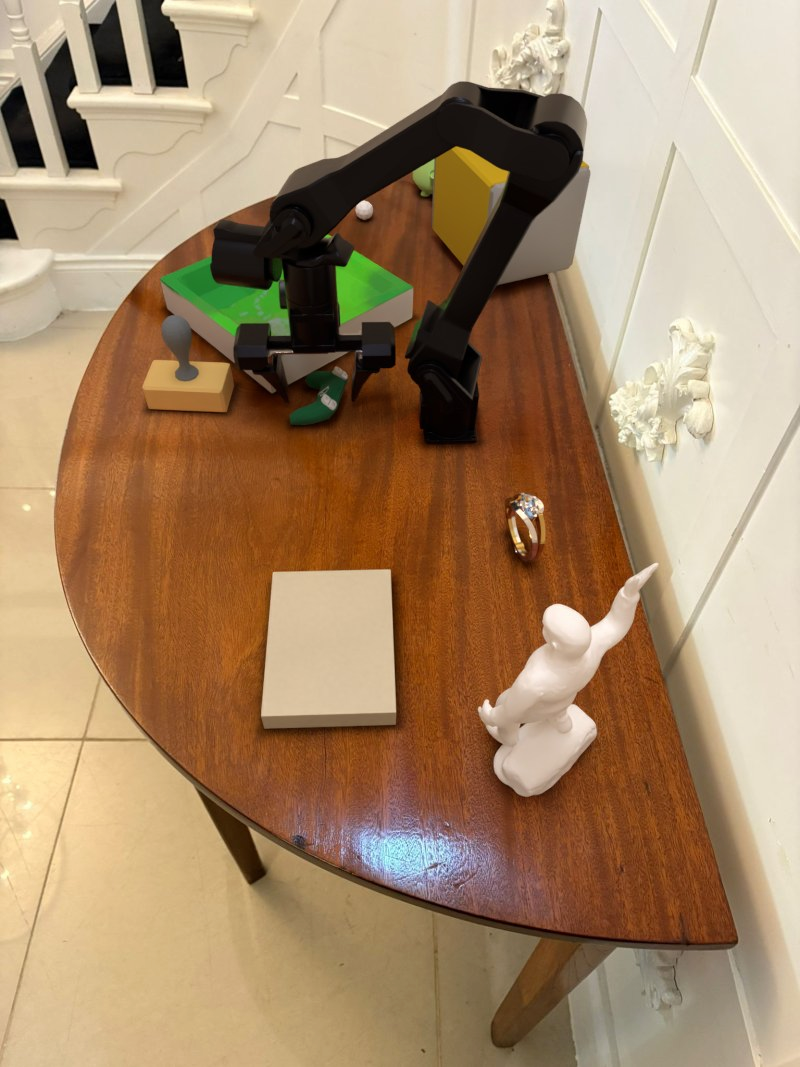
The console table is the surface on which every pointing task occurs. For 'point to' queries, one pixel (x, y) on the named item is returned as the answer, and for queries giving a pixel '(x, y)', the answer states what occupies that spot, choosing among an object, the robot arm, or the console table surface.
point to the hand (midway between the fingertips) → (320, 400)
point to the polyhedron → (364, 210)
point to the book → (330, 650)
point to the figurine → (555, 694)
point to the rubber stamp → (186, 376)
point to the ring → (526, 514)
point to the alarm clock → (470, 197)
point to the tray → (225, 307)
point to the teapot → (425, 178)
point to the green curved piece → (321, 397)
